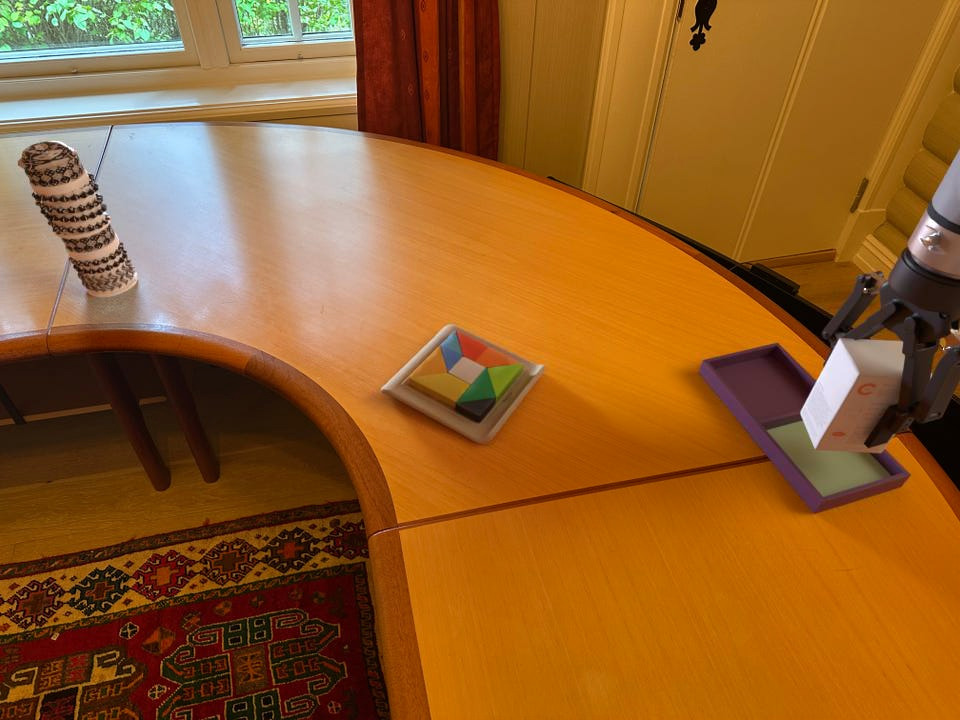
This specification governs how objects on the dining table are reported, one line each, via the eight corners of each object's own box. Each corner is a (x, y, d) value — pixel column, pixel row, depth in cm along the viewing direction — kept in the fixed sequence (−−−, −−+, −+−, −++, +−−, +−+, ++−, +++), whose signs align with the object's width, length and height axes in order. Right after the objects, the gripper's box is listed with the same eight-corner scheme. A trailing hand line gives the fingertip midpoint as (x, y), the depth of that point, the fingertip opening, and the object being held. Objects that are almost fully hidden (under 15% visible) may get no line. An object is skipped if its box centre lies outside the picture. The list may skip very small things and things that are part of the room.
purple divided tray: (772, 354, 94) (777, 342, 93) (901, 487, 76) (911, 474, 75) (698, 372, 91) (702, 359, 90) (814, 514, 74) (822, 502, 72)
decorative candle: (147, 284, 108) (85, 149, 91) (92, 305, 103) (15, 166, 86) (131, 262, 113) (69, 129, 96) (78, 281, 108) (2, 146, 91)
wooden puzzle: (488, 450, 81) (489, 433, 78) (377, 396, 88) (374, 379, 85) (548, 372, 91) (550, 355, 89) (445, 329, 99) (444, 313, 96)
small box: (862, 415, 78) (911, 340, 69) (882, 454, 73) (938, 379, 64) (797, 411, 78) (838, 336, 69) (813, 450, 74) (859, 375, 65)
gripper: (839, 213, 64) (769, 367, 80) (1016, 334, 50) (889, 493, 66) (895, 203, 66) (816, 355, 82) (1083, 317, 52) (943, 476, 67)
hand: (848, 416), depth 74 cm, fingers closed on small box, 8 cm apart
